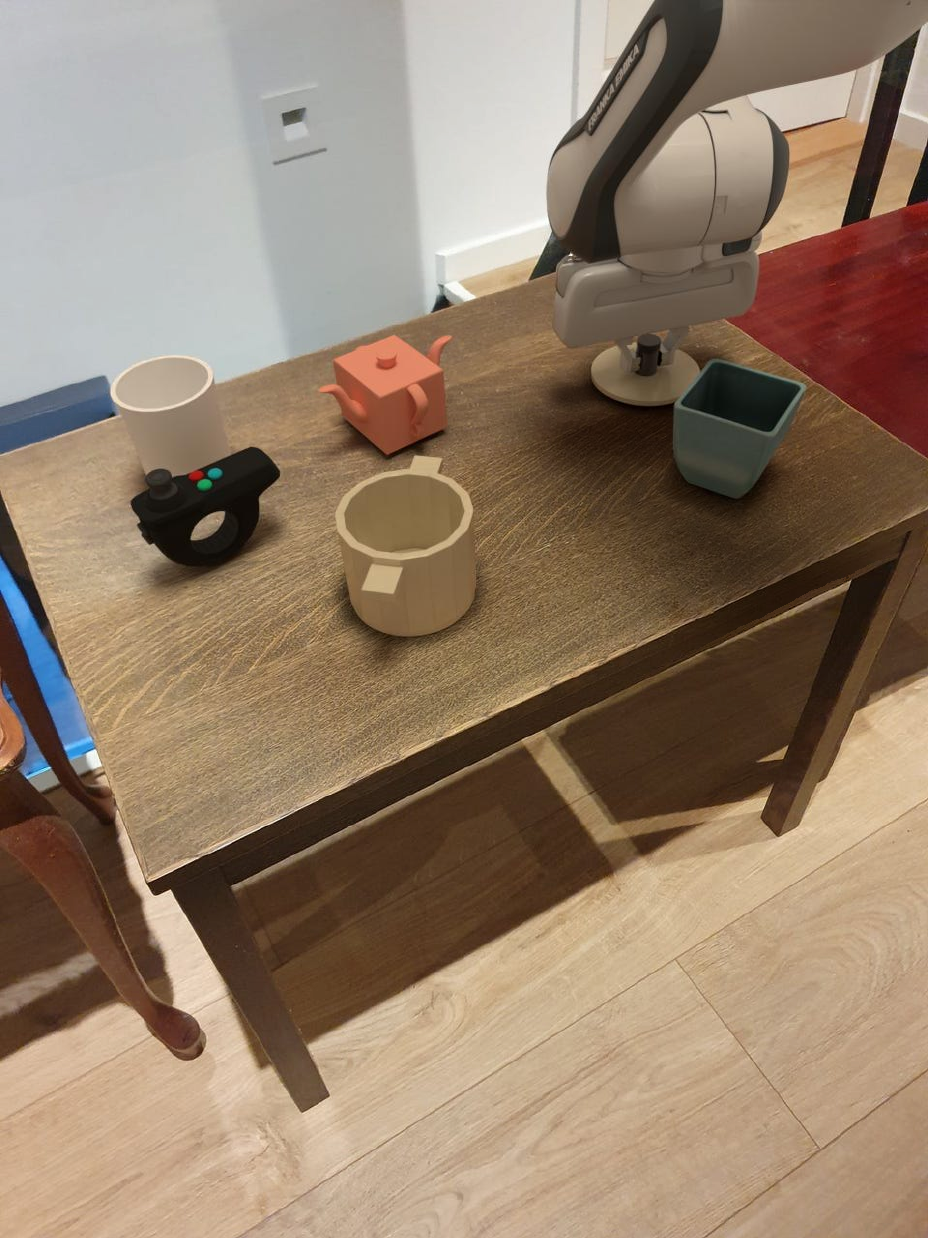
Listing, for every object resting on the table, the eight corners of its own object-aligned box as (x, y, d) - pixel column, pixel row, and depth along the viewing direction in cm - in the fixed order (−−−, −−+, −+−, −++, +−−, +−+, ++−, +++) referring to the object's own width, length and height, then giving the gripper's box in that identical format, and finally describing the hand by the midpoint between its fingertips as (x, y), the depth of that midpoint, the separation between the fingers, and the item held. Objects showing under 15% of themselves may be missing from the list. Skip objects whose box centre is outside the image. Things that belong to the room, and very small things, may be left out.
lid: (700, 355, 96) (707, 315, 93) (696, 415, 89) (704, 374, 85) (596, 348, 98) (599, 308, 95) (584, 406, 91) (587, 365, 87)
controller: (151, 568, 77) (113, 477, 70) (275, 507, 82) (252, 416, 74) (173, 596, 75) (136, 504, 67) (299, 531, 79) (278, 439, 72)
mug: (255, 479, 85) (230, 385, 77) (169, 518, 81) (134, 424, 74) (204, 427, 91) (177, 335, 83) (122, 462, 87) (85, 369, 80)
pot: (491, 533, 78) (490, 455, 72) (454, 671, 68) (448, 593, 62) (378, 520, 80) (367, 443, 74) (324, 653, 70) (305, 576, 63)
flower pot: (785, 466, 83) (809, 382, 76) (751, 520, 78) (774, 436, 72) (696, 438, 86) (712, 355, 80) (658, 488, 82) (672, 405, 75)
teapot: (300, 427, 90) (285, 353, 84) (422, 375, 96) (416, 302, 90) (362, 485, 83) (350, 410, 77) (489, 425, 89) (488, 350, 83)
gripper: (569, 267, 78) (562, 401, 88) (779, 229, 82) (749, 363, 92) (544, 237, 82) (541, 368, 93) (745, 202, 86) (720, 333, 96)
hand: (646, 366), depth 92 cm, fingers closed on lid, 2 cm apart
